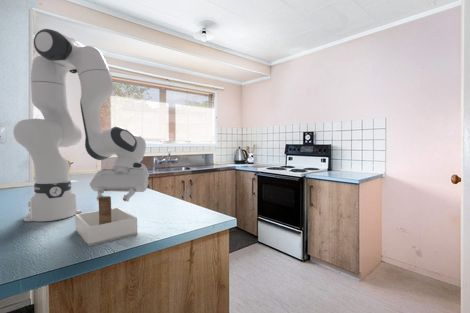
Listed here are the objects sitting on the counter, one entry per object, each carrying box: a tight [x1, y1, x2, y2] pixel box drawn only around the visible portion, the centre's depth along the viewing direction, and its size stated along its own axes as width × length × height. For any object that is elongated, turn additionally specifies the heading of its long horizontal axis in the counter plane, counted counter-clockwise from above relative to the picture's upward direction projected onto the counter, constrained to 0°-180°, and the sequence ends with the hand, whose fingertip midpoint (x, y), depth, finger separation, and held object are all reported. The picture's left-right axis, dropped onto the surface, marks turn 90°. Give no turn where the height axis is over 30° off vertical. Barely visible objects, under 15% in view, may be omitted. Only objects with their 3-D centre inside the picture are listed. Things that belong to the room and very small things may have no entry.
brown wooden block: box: [98, 195, 112, 225], centre depth 81 cm, size 4×4×11 cm
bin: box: [74, 206, 138, 247], centre depth 82 cm, size 18×14×6 cm
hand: (112, 200), depth 86 cm, fingers open, 8 cm apart
